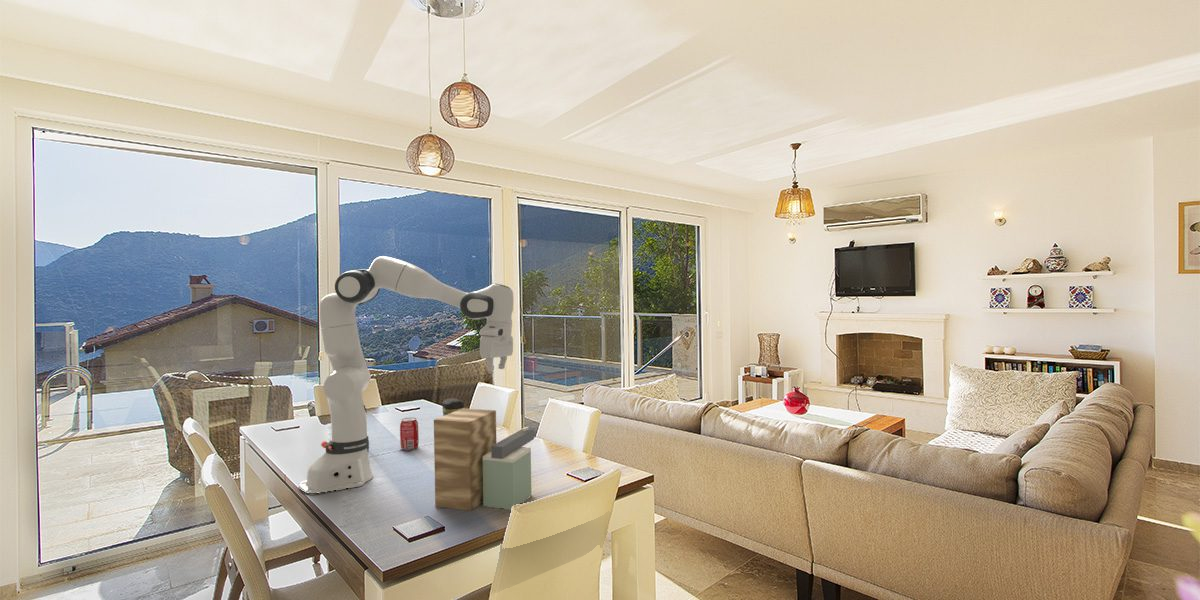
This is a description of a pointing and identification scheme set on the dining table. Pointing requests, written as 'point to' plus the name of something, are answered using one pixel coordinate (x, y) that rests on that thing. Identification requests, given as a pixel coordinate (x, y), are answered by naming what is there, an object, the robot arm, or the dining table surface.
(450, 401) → the coffee jar
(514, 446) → the grey bar with knob
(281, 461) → the dining table surface
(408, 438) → the soda can
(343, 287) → the robot arm
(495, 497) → the block
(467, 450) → the oak stand
